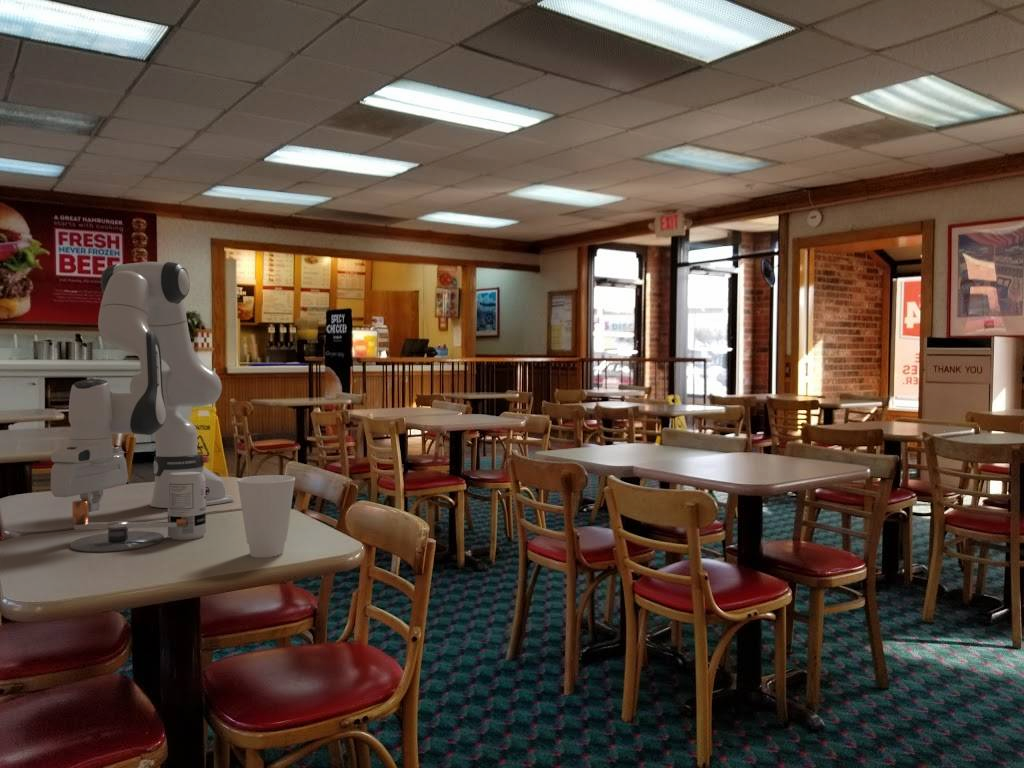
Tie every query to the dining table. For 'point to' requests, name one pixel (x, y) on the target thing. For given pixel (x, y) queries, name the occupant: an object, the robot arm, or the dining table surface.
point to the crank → (82, 521)
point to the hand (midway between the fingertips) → (91, 510)
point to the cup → (266, 512)
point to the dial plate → (117, 541)
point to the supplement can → (187, 504)
